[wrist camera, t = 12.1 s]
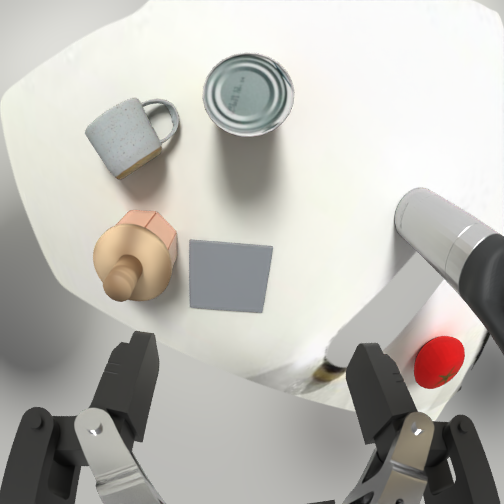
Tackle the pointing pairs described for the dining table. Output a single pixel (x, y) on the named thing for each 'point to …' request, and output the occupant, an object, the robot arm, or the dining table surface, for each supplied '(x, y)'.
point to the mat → (228, 275)
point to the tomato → (438, 362)
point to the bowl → (154, 228)
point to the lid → (132, 263)
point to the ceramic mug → (128, 136)
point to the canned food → (248, 94)
